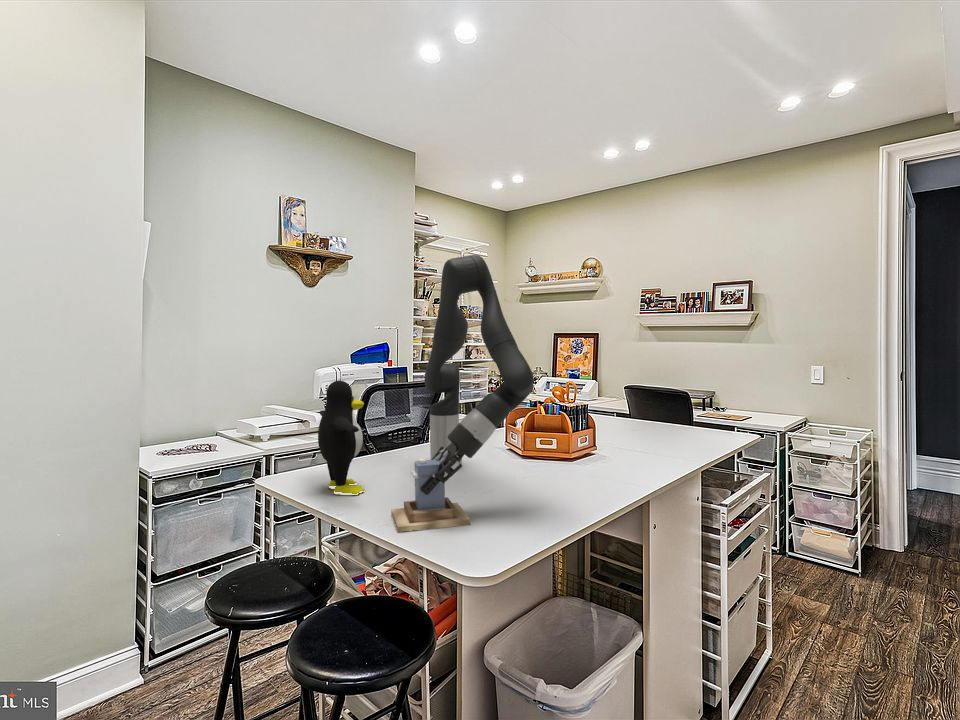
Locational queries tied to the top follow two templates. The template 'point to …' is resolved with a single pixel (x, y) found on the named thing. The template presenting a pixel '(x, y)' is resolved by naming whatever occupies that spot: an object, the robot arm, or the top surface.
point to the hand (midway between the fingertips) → (421, 488)
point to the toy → (340, 435)
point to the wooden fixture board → (429, 517)
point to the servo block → (421, 475)
